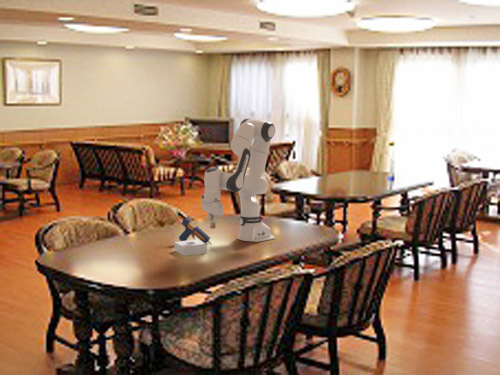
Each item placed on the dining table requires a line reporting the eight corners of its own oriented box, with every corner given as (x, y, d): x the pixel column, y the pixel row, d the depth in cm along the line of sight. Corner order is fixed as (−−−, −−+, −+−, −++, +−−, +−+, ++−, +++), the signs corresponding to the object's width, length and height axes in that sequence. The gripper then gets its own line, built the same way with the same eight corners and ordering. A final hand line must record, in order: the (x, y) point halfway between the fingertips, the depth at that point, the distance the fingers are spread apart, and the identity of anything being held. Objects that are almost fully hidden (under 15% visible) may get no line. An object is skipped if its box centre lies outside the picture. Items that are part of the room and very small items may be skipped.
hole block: (197, 248, 374) (197, 239, 373) (206, 253, 364) (206, 244, 363) (174, 250, 367) (174, 242, 367) (183, 255, 357) (183, 246, 356)
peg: (214, 227, 373) (213, 209, 371) (216, 228, 370) (216, 210, 368) (209, 227, 371) (209, 210, 369) (211, 228, 369) (211, 211, 367)
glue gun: (200, 258, 386) (212, 242, 382) (167, 230, 387) (179, 215, 384) (203, 255, 390) (215, 240, 387) (170, 228, 392) (181, 213, 388)
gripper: (226, 199, 360) (226, 224, 363) (209, 193, 378) (210, 217, 380) (215, 200, 357) (216, 225, 360) (199, 194, 375) (200, 218, 377)
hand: (212, 221), depth 370 cm, fingers closed on peg, 3 cm apart
